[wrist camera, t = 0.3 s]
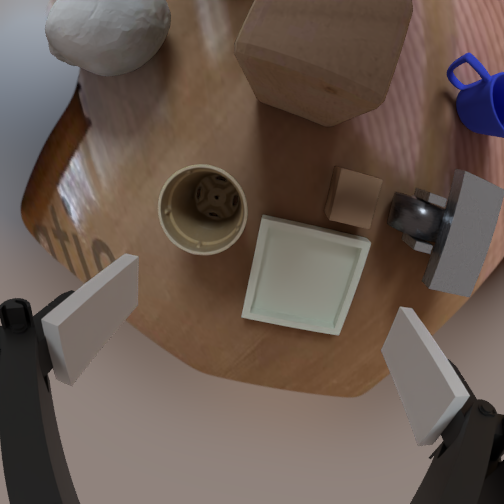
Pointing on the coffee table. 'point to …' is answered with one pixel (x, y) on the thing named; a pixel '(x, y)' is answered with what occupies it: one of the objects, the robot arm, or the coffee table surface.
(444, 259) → the caster wheel
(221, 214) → the flower pot
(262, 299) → the tray
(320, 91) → the wooden block
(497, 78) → the mug
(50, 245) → the coffee table surface
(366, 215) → the block
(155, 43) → the skull
